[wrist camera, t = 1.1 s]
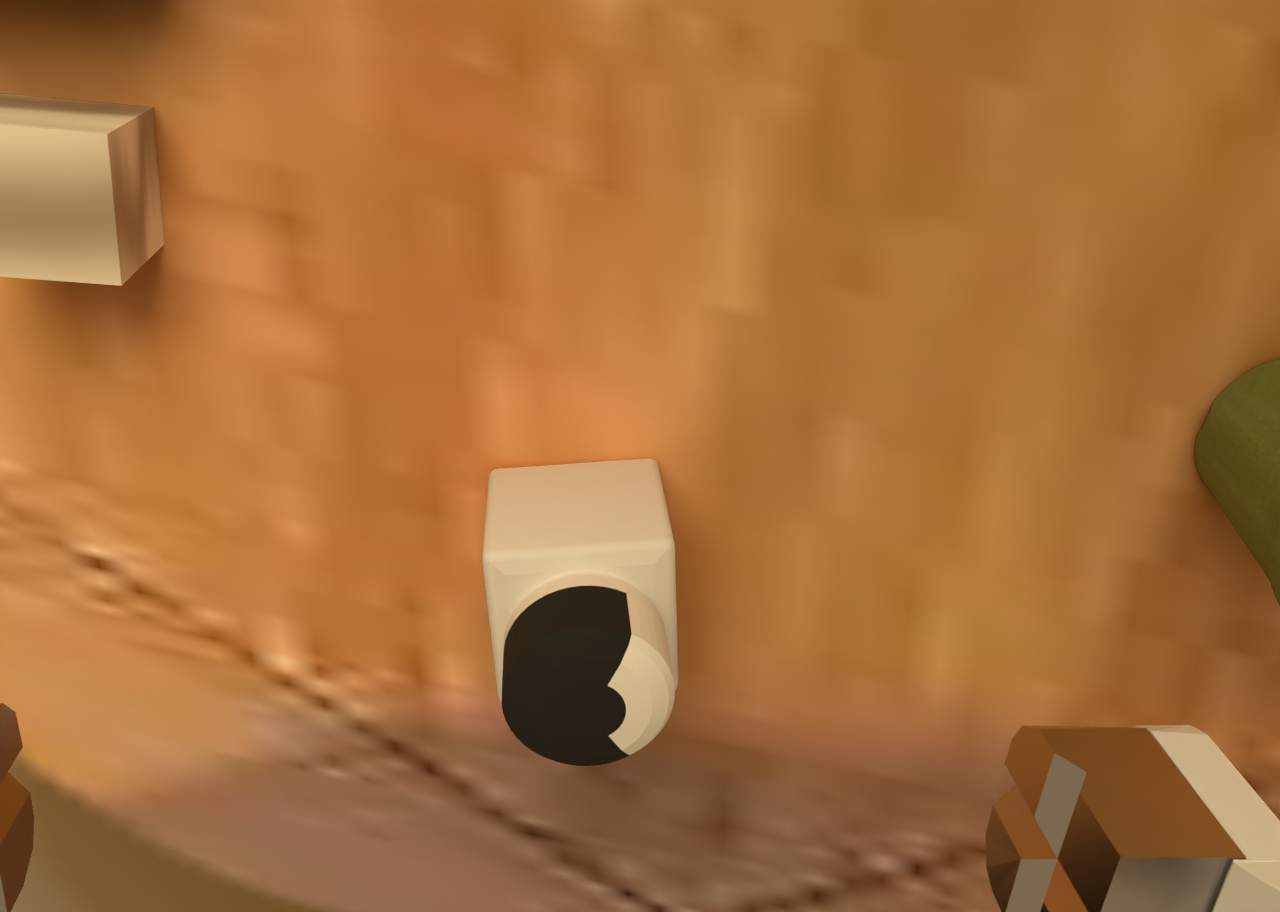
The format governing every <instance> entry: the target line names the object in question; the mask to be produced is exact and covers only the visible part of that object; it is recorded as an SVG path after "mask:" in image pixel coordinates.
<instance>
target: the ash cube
mask: <svg viewBox="0 0 1280 912" xmlns="http://www.w3.org/2000/svg"><path fill="white" fill-rule="evenodd" d="M163 245H164V236H163V223H162V210H161V198H160V185H159V172H158V159H157V146H156V133H155V120H154V107H147V106H136V105H126V104H115V103H104V102H93V101H83V100H72V99H61V98H50V97H40V96H29V95H18V94H8V93H3V94H1V95H0V277H11V278H25V279H38V280H52V281H65V282H78V283H92V284H105V285H119V286H122V285H123V284H124V283H125V282H126V281H127V280H128V279H129V278H130V277H131V276H132V275H133V274H134V273H135V272H136V271H137V270H138V269H139V268H140V267H141V266H142V265H143V264H144V263H146V262H147V261H148V260H149V259H150V258H151V257H152V256H153V255H154V254H155V253H156V252H157V251H158V250H159V249H160V248H161V247H162V246H163Z"/></svg>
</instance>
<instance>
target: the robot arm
mask: <svg viewBox="0 0 1280 912" xmlns="http://www.w3.org/2000/svg"><path fill="white" fill-rule="evenodd" d="M22 747H23V745H22V741H21V736H20V731H19V727H18V722H17V717H16V712H14V711H13V710H12V709H10V708H9V707H8V706H6V705H5V704H3V703H0V912H11V910H12V908H13V906H14V903H15V902H16V900H17V897H18V895H19V894H20V891H21V889H22V887H23V885H24V881H25V877H26V873H27V869H28V865H29V862H30V858H31V854H32V850H33V834H34V814H33V807H32V800H31V794H30V792H29V791H28V790H27V789H26V788H25V787H24V786H23V785H22V784H21V783H20V782H19V781H18V780H16V779H15V778H14V777H13V776H12V775H11V774H10V773H9V772H8V771H9V769H10V767H11V766H12V764H13V762H14V761H15V759H16V757H17V756H18V754H19V752H20V751H21V749H22ZM1005 765H1006V767H1007V768H1008V770H1009V772H1010V774H1011V776H1012V777H1013V779H1014V781H1015V783H1016V784H1015V785H1014V786H1013V787H1012V788H1011V789H1010V790H1009V791H1007V792H1006V793H1005V794H1004V795H1003V796H1002V797H1001V798H1000V799H998V800H997V801H996V802H995V803H994V804H993V806H992V811H991V815H990V819H989V823H988V827H987V831H986V866H987V872H988V875H989V879H990V883H991V887H992V891H993V894H994V896H995V898H996V901H997V903H998V905H999V907H1000V909H1001V912H1280V821H1279V819H1278V818H1277V817H1276V816H1275V815H1274V814H1273V812H1272V811H1271V810H1270V809H1269V808H1268V806H1267V805H1266V804H1265V803H1264V802H1263V800H1262V799H1261V798H1260V797H1259V796H1258V794H1257V793H1256V792H1255V791H1254V790H1253V788H1252V787H1251V786H1250V785H1249V784H1248V783H1247V781H1246V780H1245V779H1244V778H1243V777H1242V775H1241V774H1240V773H1239V772H1238V771H1237V769H1236V768H1235V767H1234V766H1233V765H1232V763H1231V762H1230V761H1229V760H1228V759H1227V757H1226V756H1225V755H1224V754H1223V753H1222V752H1221V750H1220V749H1219V748H1218V747H1217V746H1216V744H1215V743H1214V742H1213V741H1212V740H1211V738H1210V737H1209V736H1208V735H1207V734H1206V733H1204V732H1202V731H1201V730H1199V729H1197V728H1195V727H1193V726H1191V725H1135V726H1134V727H1081V726H1022V727H1021V728H1020V729H1019V731H1018V732H1017V733H1016V735H1015V736H1014V738H1013V739H1012V741H1011V744H1010V748H1009V751H1008V754H1007V758H1006V761H1005Z"/></svg>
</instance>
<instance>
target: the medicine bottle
mask: <svg viewBox="0 0 1280 912" xmlns="http://www.w3.org/2000/svg"><path fill="white" fill-rule="evenodd" d="M482 562H483V571H484V580H485V588H486V597H487V606H488V614H489V623H490V631H491V640H492V649H493V657H494V666H495V674H496V683H497V692H498V698H499V701H500V703H501V704H502V708H503V713H504V716H505V719H506V722H507V724H508V725H509V727H510V729H511V731H512V732H513V733H514V734H515V736H516V737H517V738H518V739H519V740H520V741H521V742H522V743H523V744H524V745H525V746H527V747H528V748H530V749H531V750H532V751H534V752H536V753H538V754H540V755H541V756H543V757H546V758H548V759H551V760H554V761H556V762H560V763H564V764H570V765H577V766H591V765H601V764H606V763H611V762H614V761H617V760H620V759H622V758H625V757H627V756H629V755H631V754H633V753H635V752H636V751H638V750H640V749H641V748H643V747H644V746H645V745H647V744H648V743H649V742H651V741H652V740H653V739H654V738H655V737H656V736H657V735H658V734H659V732H660V731H661V730H662V729H663V727H664V726H665V724H666V722H667V721H668V719H669V717H670V714H671V712H672V709H673V705H674V699H675V690H676V689H677V687H678V646H677V608H676V569H675V543H674V538H673V534H672V529H671V524H670V519H669V514H668V510H667V505H666V500H665V495H664V490H663V486H662V481H661V476H660V471H659V466H658V464H657V462H656V461H655V460H654V459H651V458H645V459H631V460H616V461H602V462H587V463H573V464H558V465H544V466H530V467H515V468H501V469H495V470H493V471H492V472H491V473H490V474H489V479H488V492H487V504H486V517H485V529H484V542H483V554H482Z"/></svg>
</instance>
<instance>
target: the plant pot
mask: <svg viewBox="0 0 1280 912" xmlns="http://www.w3.org/2000/svg"><path fill="white" fill-rule="evenodd" d="M1195 459H1196V465H1197V469H1198V471H1199V474H1200V476H1201V478H1202V479H1203V481H1204V483H1205V484H1206V486H1207V487H1208V489H1209V490H1210V492H1211V493H1212V495H1213V496H1214V498H1215V499H1216V501H1217V502H1218V503H1219V505H1220V506H1221V508H1222V509H1223V511H1224V512H1225V514H1226V515H1227V517H1228V518H1229V520H1230V521H1231V523H1232V524H1233V526H1234V528H1235V529H1236V531H1237V532H1238V534H1239V535H1240V537H1241V538H1242V540H1243V541H1244V543H1245V544H1246V546H1247V547H1248V549H1249V550H1250V552H1251V553H1252V555H1253V556H1254V557H1255V559H1256V560H1257V562H1258V563H1259V565H1260V566H1261V568H1262V569H1263V571H1264V572H1265V574H1266V575H1267V577H1268V578H1269V580H1270V581H1271V585H1272V589H1273V592H1274V594H1275V597H1276V599H1277V601H1278V603H1279V605H1280V359H1278V360H1274V361H1270V362H1267V363H1264V364H1261V365H1259V366H1257V367H1255V368H1253V369H1251V370H1249V371H1248V372H1246V373H1244V374H1243V375H1241V376H1240V377H1239V378H1237V379H1236V380H1234V381H1233V382H1232V383H1231V384H1230V385H1228V386H1227V387H1226V388H1225V389H1224V390H1223V391H1222V392H1221V393H1220V394H1219V395H1218V397H1217V398H1216V399H1215V400H1214V402H1213V404H1212V406H1211V409H1210V412H1209V414H1208V416H1207V418H1206V421H1205V423H1204V425H1203V426H1202V428H1201V430H1200V432H1199V433H1198V434H1197V437H1196V442H1195Z"/></svg>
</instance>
